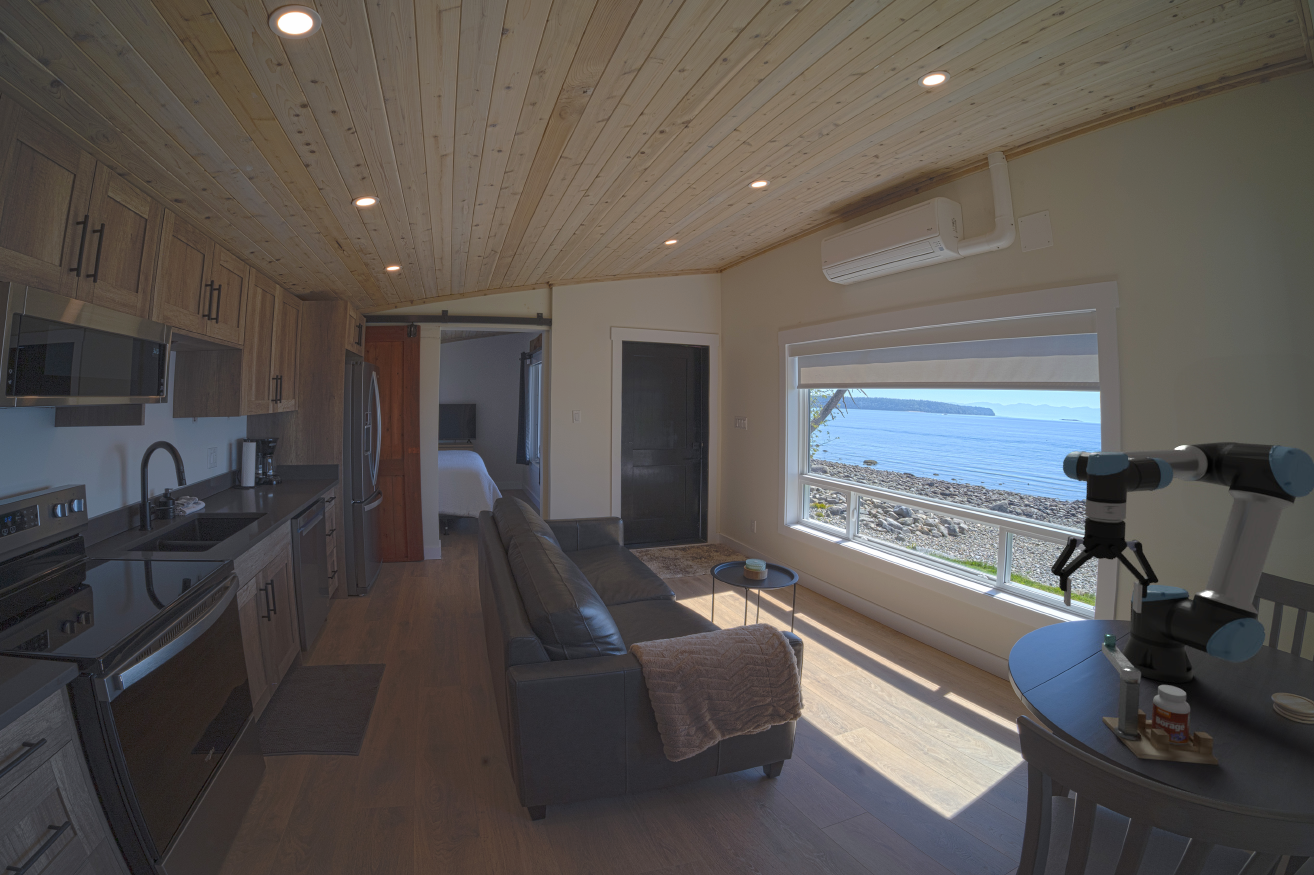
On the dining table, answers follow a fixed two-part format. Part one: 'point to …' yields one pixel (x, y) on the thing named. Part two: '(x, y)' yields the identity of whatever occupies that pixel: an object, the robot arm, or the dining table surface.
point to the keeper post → (1128, 711)
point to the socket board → (1159, 755)
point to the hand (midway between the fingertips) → (1101, 607)
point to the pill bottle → (1172, 714)
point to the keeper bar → (1120, 660)
